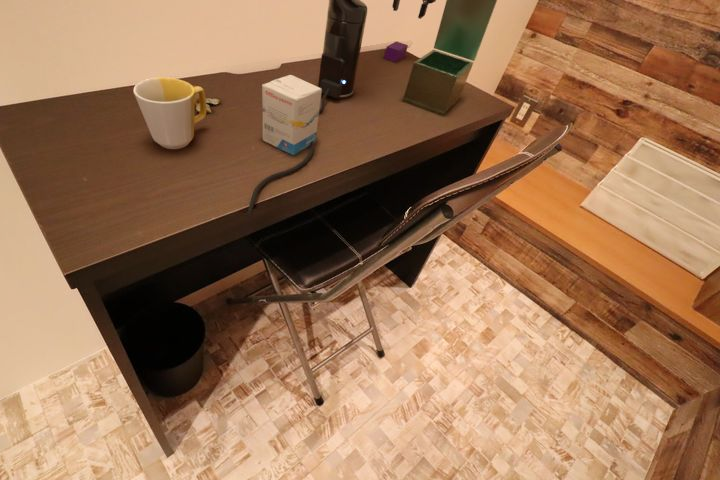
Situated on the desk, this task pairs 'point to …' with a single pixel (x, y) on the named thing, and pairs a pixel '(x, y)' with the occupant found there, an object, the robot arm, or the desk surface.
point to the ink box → (290, 113)
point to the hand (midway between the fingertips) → (407, 14)
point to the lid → (464, 26)
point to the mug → (170, 109)
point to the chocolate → (395, 51)
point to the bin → (437, 81)
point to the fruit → (208, 100)
